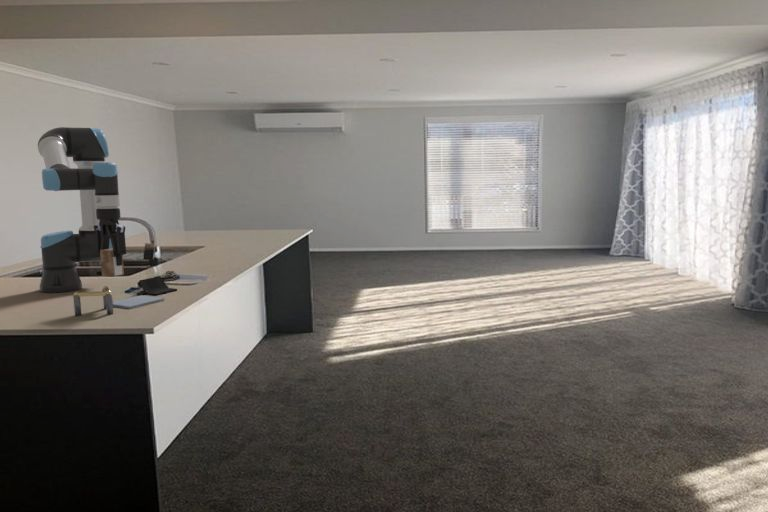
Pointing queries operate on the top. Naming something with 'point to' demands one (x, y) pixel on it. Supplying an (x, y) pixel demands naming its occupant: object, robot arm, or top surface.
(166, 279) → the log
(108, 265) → the walnut block
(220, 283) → the top surface
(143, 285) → the handheld gaming console
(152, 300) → the pad
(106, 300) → the grey and gold frame
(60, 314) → the top surface
